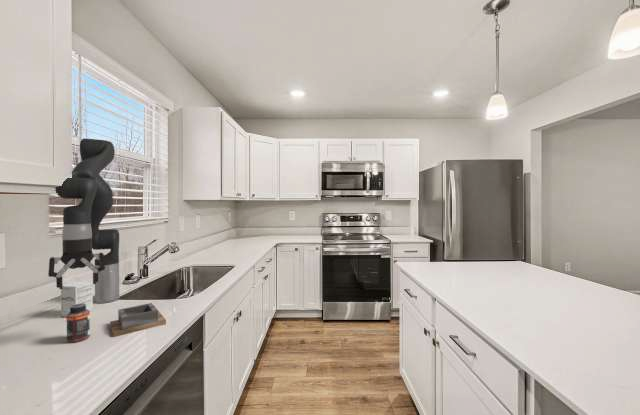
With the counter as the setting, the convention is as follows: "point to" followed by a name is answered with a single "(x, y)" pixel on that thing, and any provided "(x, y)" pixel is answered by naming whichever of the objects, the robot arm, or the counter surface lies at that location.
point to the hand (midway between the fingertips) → (78, 286)
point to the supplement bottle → (78, 323)
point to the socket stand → (136, 319)
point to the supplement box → (76, 296)
